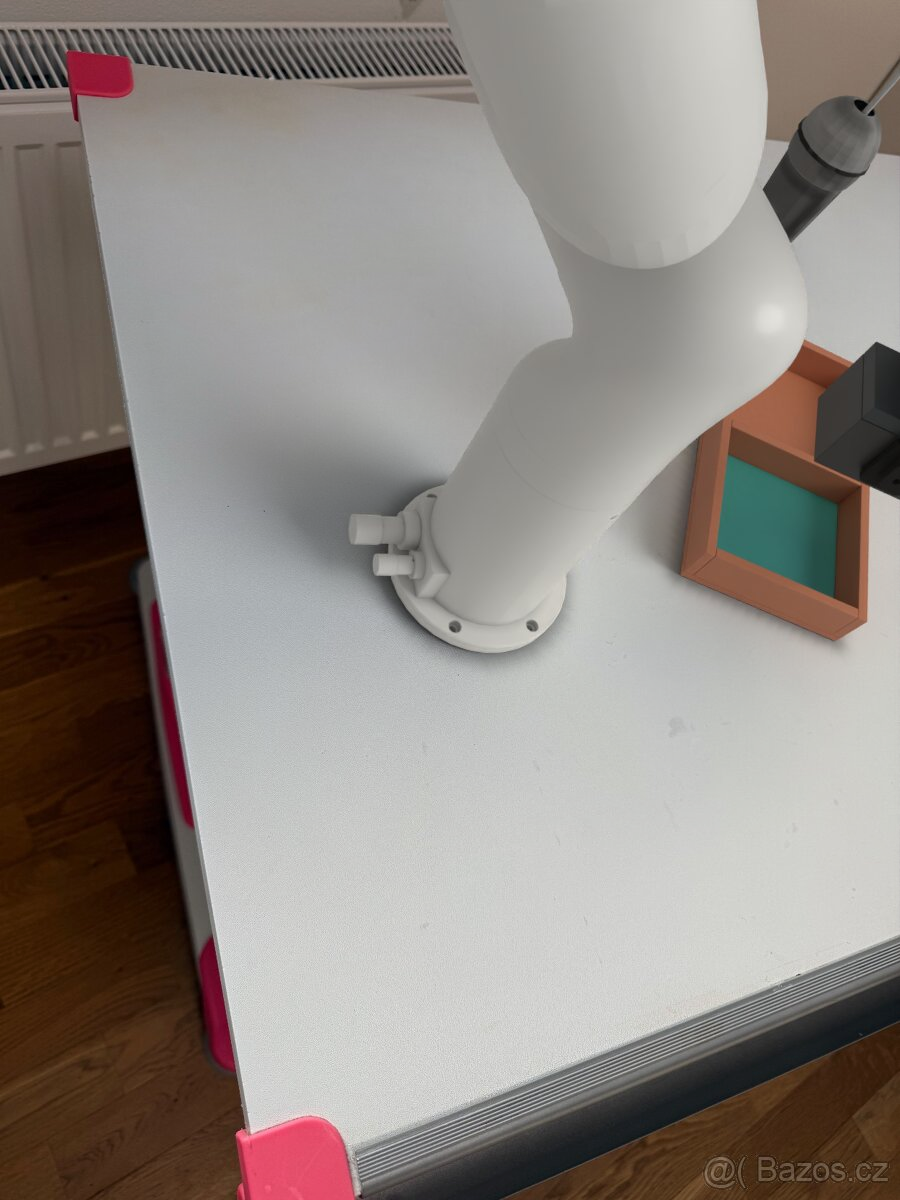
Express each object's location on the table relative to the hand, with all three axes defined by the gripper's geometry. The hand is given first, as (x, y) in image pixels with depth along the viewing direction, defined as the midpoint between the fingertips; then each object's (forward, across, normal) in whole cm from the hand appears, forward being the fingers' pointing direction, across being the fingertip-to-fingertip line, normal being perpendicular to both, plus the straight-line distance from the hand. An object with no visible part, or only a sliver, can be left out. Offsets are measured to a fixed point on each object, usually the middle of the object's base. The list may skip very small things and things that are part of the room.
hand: (879, 445), depth 66 cm
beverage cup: (+13, -34, -4) cm, 37 cm away
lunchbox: (+1, 0, 0) cm, 1 cm away
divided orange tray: (+13, -6, 0) cm, 14 cm away
